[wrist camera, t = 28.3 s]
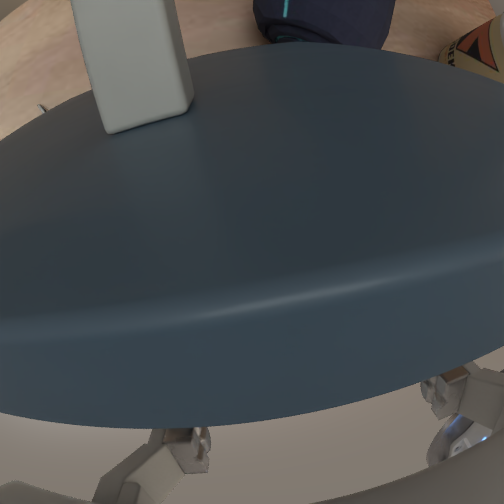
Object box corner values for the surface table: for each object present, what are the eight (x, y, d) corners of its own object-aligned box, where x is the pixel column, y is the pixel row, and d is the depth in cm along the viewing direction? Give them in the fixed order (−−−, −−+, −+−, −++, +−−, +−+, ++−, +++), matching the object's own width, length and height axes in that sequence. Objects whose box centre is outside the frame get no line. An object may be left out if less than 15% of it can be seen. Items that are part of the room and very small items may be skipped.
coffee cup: (447, 23, 20) (517, -12, 9) (501, 82, 22) (575, 71, 11) (417, 75, 23) (499, 44, 11) (477, 138, 24) (562, 140, 13)
